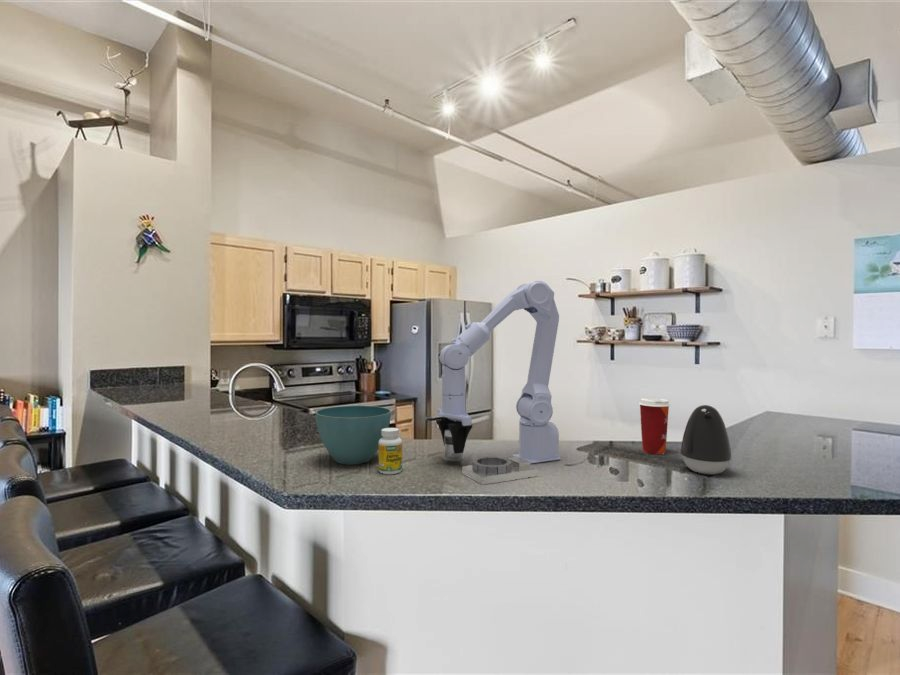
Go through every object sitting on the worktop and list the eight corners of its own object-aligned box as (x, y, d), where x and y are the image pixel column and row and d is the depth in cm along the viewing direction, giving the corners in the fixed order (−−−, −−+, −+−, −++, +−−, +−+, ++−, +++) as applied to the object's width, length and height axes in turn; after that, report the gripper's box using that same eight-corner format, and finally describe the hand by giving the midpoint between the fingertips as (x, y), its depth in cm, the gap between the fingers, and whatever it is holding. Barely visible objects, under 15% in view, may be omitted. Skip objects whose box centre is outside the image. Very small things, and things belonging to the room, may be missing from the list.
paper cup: (674, 455, 125) (675, 401, 125) (644, 455, 125) (645, 401, 125) (662, 448, 133) (662, 397, 132) (633, 448, 133) (634, 397, 132)
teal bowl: (383, 449, 131) (383, 403, 131) (397, 466, 114) (397, 414, 114) (313, 454, 125) (313, 406, 125) (317, 473, 108) (317, 419, 108)
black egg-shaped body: (683, 475, 108) (683, 407, 107) (678, 463, 117) (679, 401, 117) (735, 480, 104) (736, 409, 104) (726, 467, 114) (727, 403, 114)
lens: (458, 455, 120) (458, 426, 120) (466, 459, 116) (466, 429, 116) (440, 457, 118) (440, 427, 118) (449, 462, 114) (449, 431, 114)
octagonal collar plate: (514, 466, 115) (514, 452, 115) (537, 476, 107) (537, 461, 107) (462, 473, 109) (462, 459, 109) (482, 484, 101) (482, 469, 100)
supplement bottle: (395, 466, 114) (395, 426, 114) (406, 472, 109) (406, 430, 109) (374, 470, 111) (374, 428, 111) (384, 476, 106) (384, 432, 106)
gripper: (426, 391, 122) (426, 445, 122) (452, 399, 109) (452, 459, 109) (451, 390, 125) (451, 442, 125) (479, 397, 112) (479, 455, 112)
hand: (453, 450), depth 117 cm, fingers closed on lens, 5 cm apart
